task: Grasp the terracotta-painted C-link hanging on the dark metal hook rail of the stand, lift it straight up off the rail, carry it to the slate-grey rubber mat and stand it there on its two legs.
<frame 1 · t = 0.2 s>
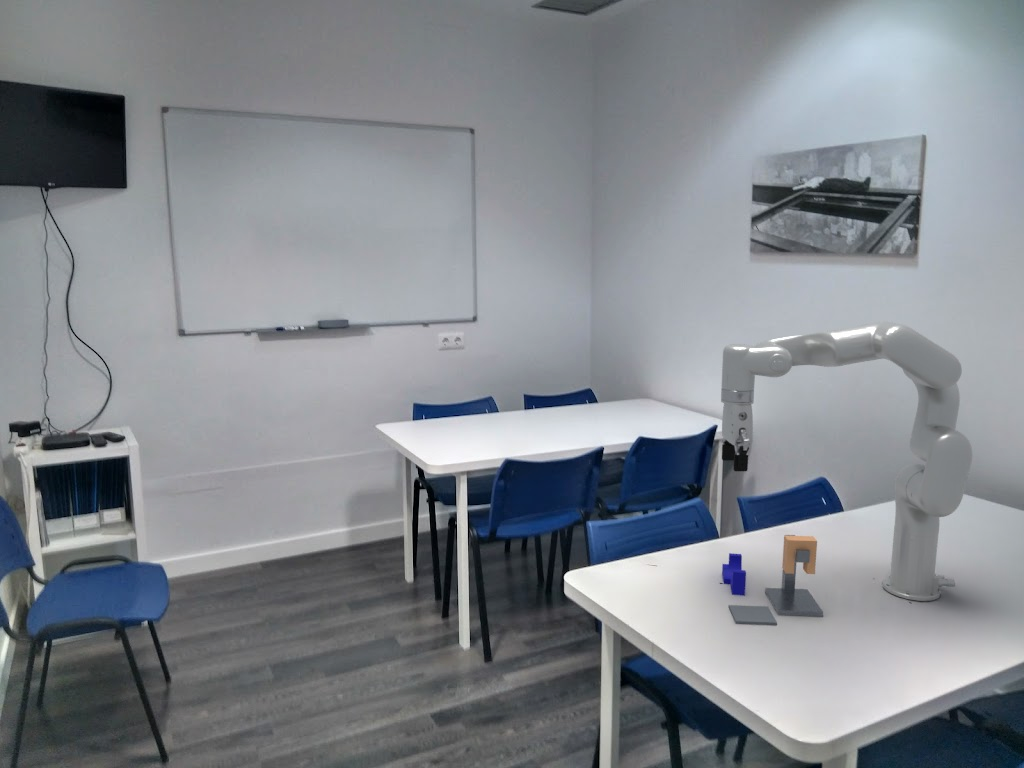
hand: (734, 465, 184), 31 cm above the table, tool pointing down, fingers open, 9 cm apart
stand: (790, 600, 181), on the table
c link: (798, 571, 175), point 9 cm above the table, touching stand
mat: (752, 616, 173), on the table
blue toy block: (733, 586, 190), on the table
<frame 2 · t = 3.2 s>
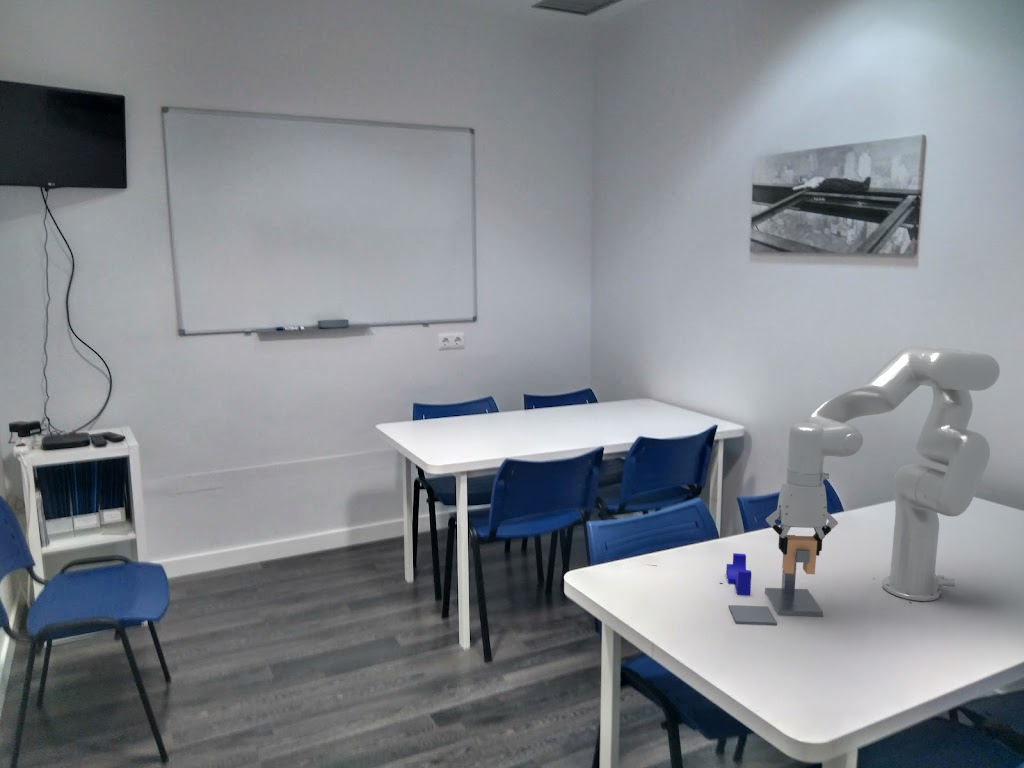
hand: (799, 552, 174), 14 cm above the table, tool pointing down, fingers closed on c link, 6 cm apart
c link: (798, 571, 175), point 9 cm above the table, touching gripper, stand
blue toy block: (737, 585, 190), on the table
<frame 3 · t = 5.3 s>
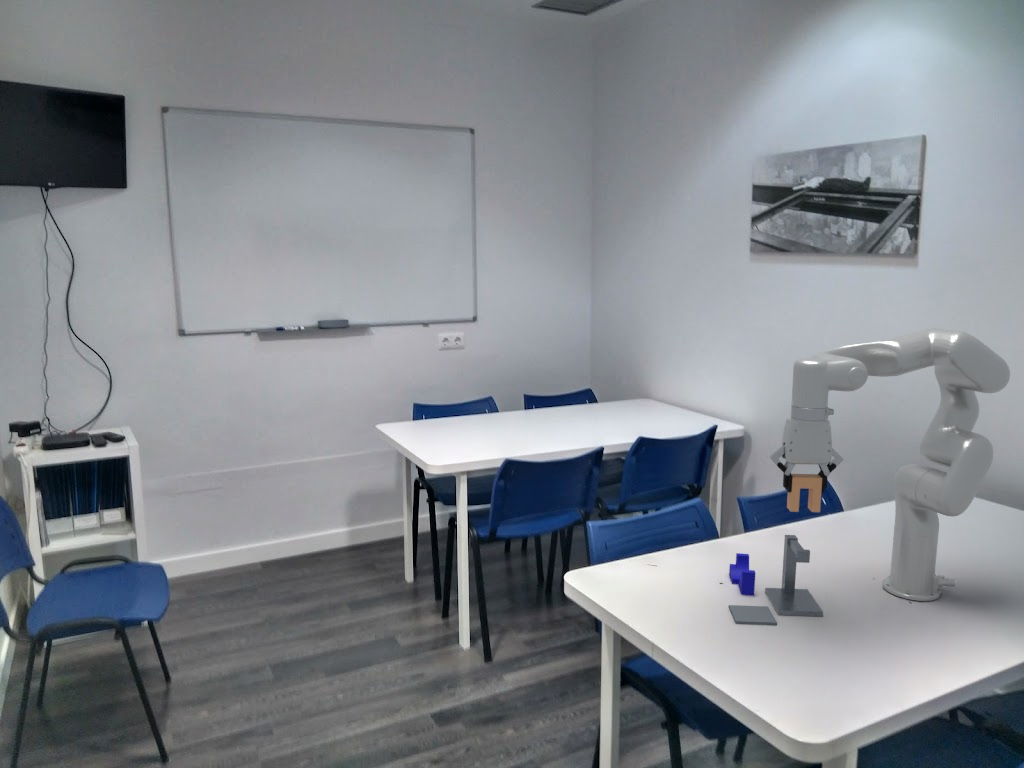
hand: (804, 490, 172), 29 cm above the table, tool pointing down, fingers closed on c link, 6 cm apart
c link: (803, 509, 172), point 24 cm above the table, touching gripper
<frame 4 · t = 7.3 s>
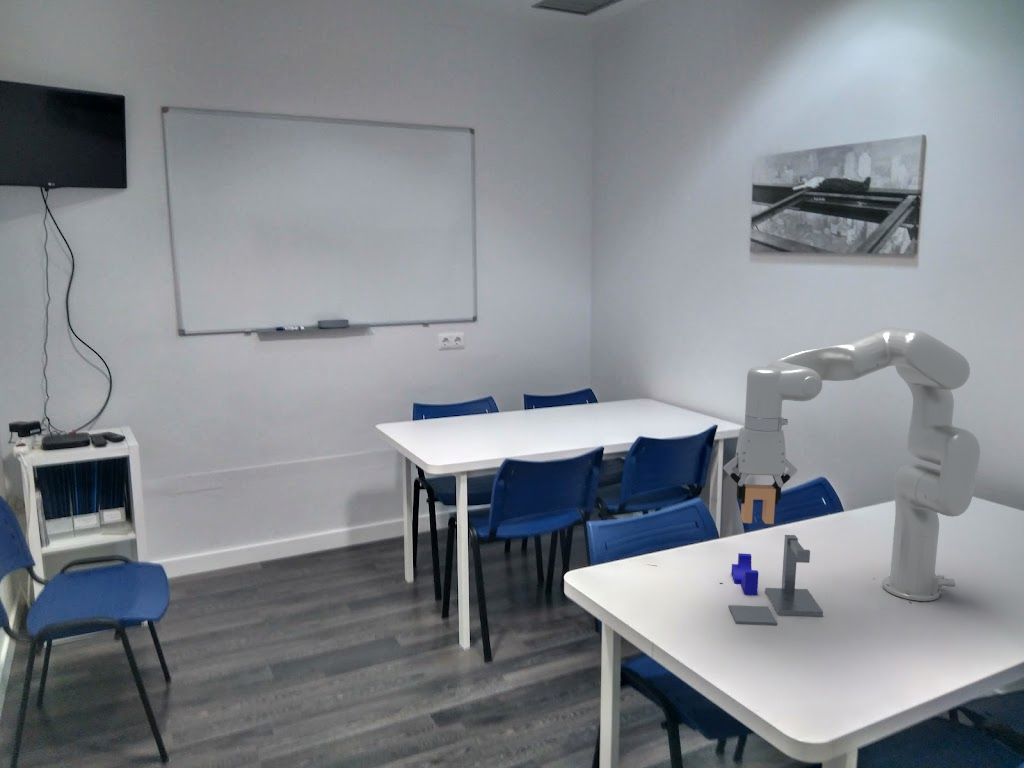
hand: (758, 501, 168), 27 cm above the table, tool pointing down, fingers closed on c link, 6 cm apart
c link: (756, 521, 169), point 23 cm above the table, touching gripper
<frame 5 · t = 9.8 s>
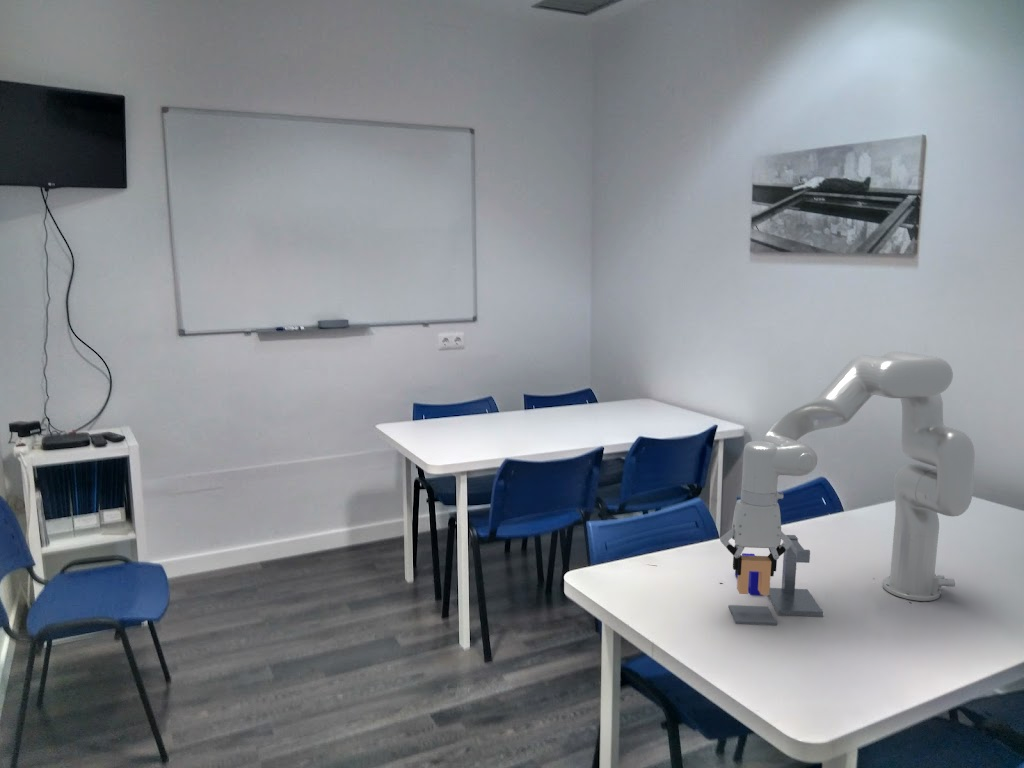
hand: (754, 572, 171), 10 cm above the table, tool pointing down, fingers closed on c link, 6 cm apart
c link: (752, 591, 172), point 6 cm above the table, touching gripper
blue toy block: (748, 586, 190), on the table
when the fingers open (6 cm above the table, at t = 11.9 s): c link stays where it is, resting on mat.
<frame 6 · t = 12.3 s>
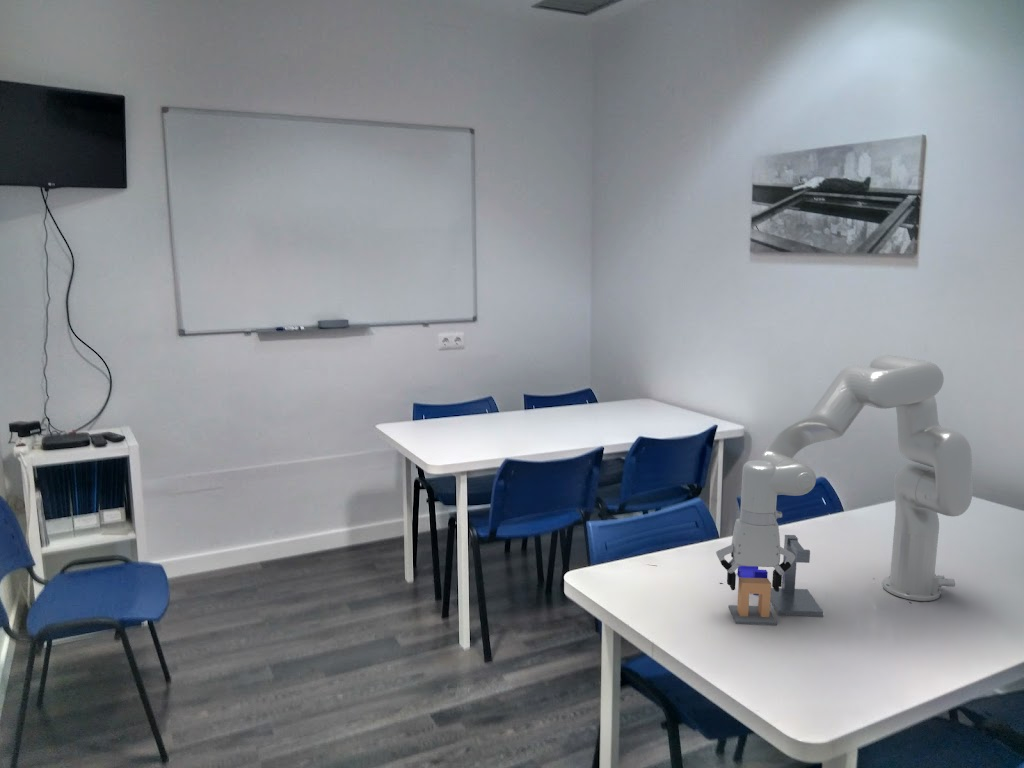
hand: (753, 588, 172), 7 cm above the table, tool pointing down, fingers open, 9 cm apart
c link: (753, 613, 173), point 1 cm above the table, touching mat
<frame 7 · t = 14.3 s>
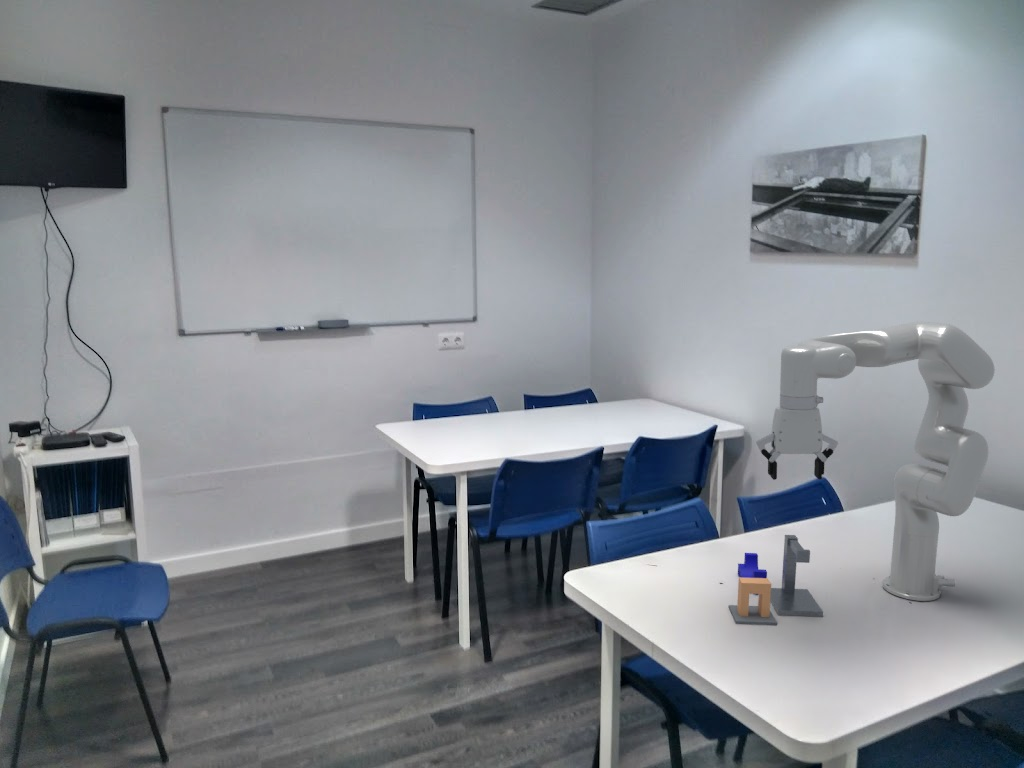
hand: (795, 477, 168), 32 cm above the table, tool pointing down, fingers open, 9 cm apart
nothing on the table moved.
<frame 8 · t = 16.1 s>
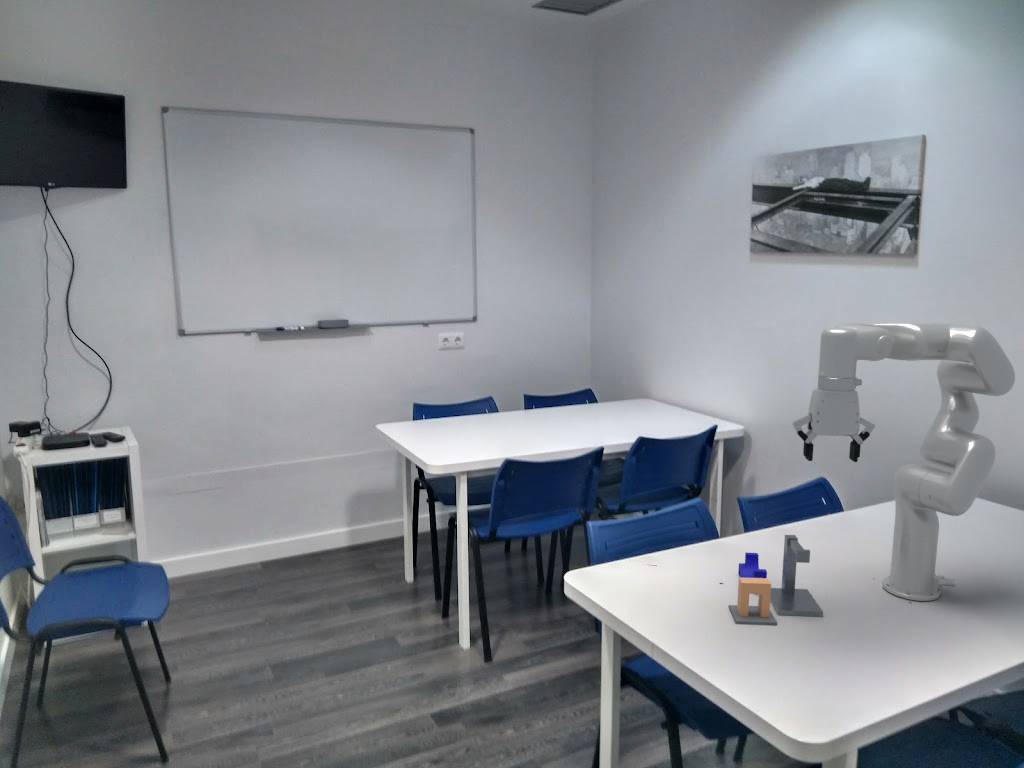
hand: (830, 460, 168), 36 cm above the table, tool pointing down, fingers open, 9 cm apart
at the end: c link inside the target area on the mat (0.2 cm from its centre), point 0.6 cm above the mat's base; c link tilted 0°; the gripper is holding nothing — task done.
